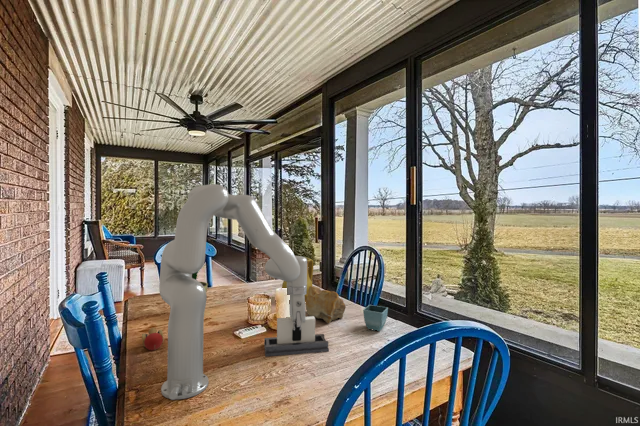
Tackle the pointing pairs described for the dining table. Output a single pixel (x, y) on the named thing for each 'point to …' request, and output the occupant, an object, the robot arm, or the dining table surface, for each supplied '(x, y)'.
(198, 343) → the robot arm
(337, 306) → the rough brown rock
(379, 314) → the flower pot
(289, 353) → the floor track
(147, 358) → the dining table surface
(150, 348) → the kendama
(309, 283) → the pitcher
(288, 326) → the door panel
